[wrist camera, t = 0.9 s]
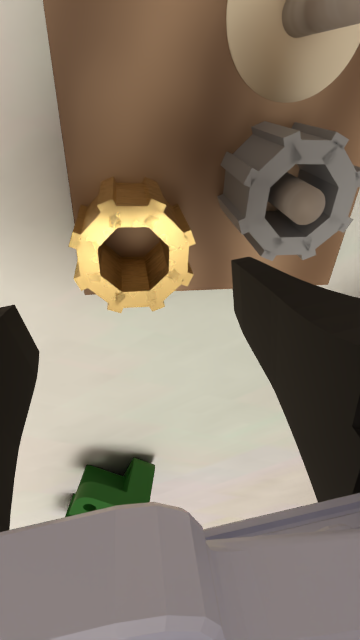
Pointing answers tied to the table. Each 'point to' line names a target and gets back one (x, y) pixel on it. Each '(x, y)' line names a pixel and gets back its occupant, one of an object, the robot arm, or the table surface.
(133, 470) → the clamp
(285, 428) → the table surface
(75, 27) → the board
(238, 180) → the grey gear
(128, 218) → the brass gear
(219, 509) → the table surface
